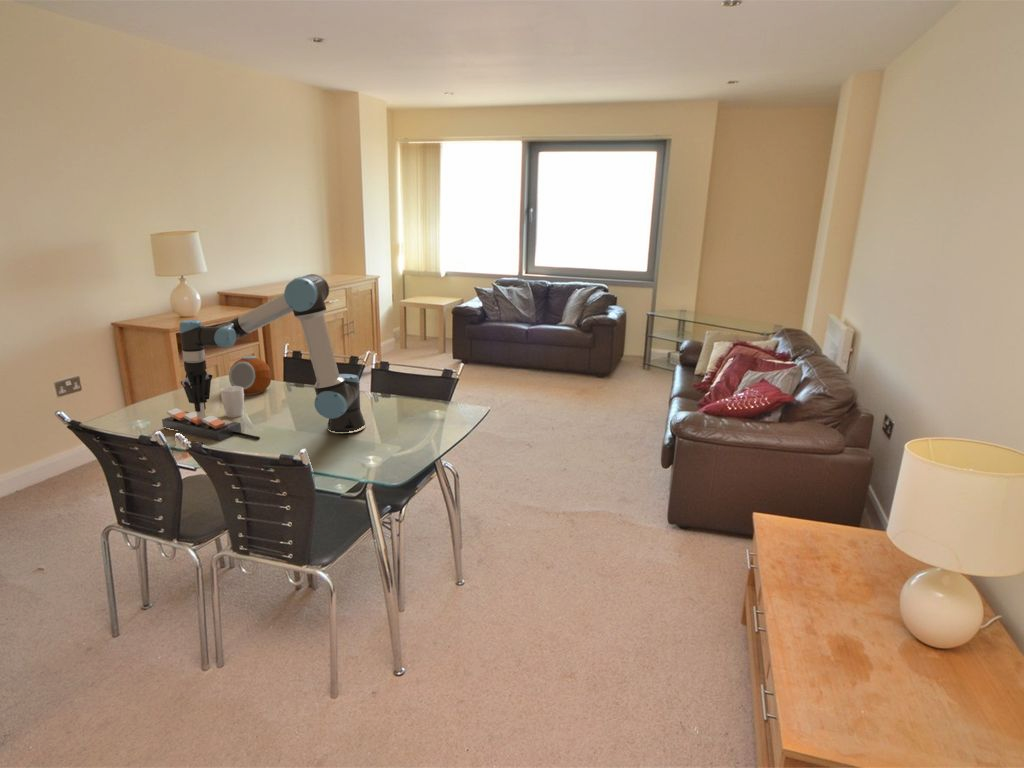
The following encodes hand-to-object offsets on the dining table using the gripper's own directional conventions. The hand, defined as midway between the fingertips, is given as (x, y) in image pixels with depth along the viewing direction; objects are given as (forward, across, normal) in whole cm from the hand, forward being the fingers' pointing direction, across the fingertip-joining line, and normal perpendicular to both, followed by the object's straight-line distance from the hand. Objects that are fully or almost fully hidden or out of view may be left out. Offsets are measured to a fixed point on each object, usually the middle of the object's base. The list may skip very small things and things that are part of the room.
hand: (201, 418), depth 236 cm
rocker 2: (+1, 0, -4) cm, 4 cm away
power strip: (+7, -3, +2) cm, 8 cm away
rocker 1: (+1, 0, -13) cm, 13 cm away
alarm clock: (+7, -52, -26) cm, 59 cm away
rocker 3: (+1, 0, +6) cm, 6 cm away
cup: (+7, -22, -6) cm, 24 cm away
